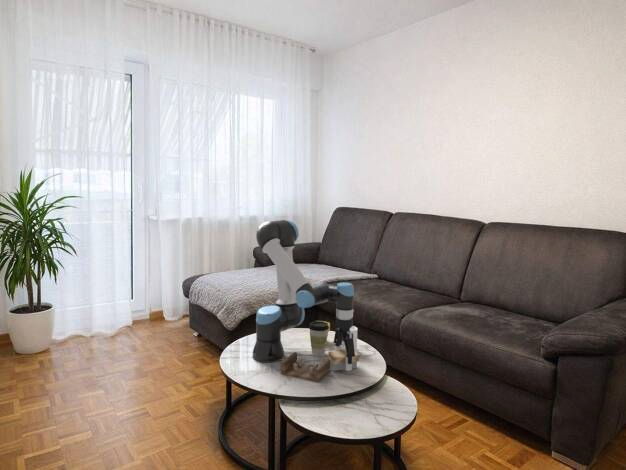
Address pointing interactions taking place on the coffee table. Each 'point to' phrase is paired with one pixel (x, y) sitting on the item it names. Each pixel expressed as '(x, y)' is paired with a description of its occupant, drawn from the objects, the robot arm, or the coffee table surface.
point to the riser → (341, 366)
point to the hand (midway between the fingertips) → (343, 364)
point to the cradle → (304, 369)
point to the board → (341, 356)
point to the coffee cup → (318, 337)
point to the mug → (354, 331)
